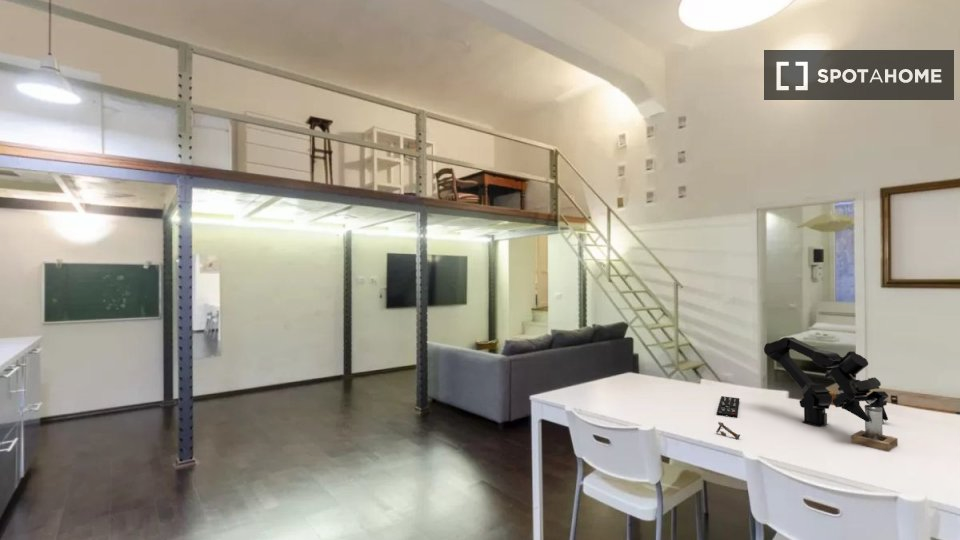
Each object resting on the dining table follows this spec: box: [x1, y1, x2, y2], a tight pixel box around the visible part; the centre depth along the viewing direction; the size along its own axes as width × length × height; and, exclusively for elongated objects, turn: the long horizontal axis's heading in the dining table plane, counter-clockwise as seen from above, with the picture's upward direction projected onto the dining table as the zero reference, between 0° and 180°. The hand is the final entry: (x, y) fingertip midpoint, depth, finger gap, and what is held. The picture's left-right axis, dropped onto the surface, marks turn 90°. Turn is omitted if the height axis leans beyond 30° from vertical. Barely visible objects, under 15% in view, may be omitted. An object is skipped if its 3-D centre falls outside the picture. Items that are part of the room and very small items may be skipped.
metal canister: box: [864, 404, 884, 441], centre depth 157 cm, size 5×5×13 cm
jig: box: [850, 429, 899, 452], centre depth 157 cm, size 10×10×2 cm
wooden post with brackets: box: [715, 421, 741, 440], centre depth 166 cm, size 2×8×4 cm, turn 35°
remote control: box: [716, 395, 740, 419], centre depth 202 cm, size 8×32×2 cm, turn 148°
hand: (877, 420), depth 156 cm, fingers open, 7 cm apart
